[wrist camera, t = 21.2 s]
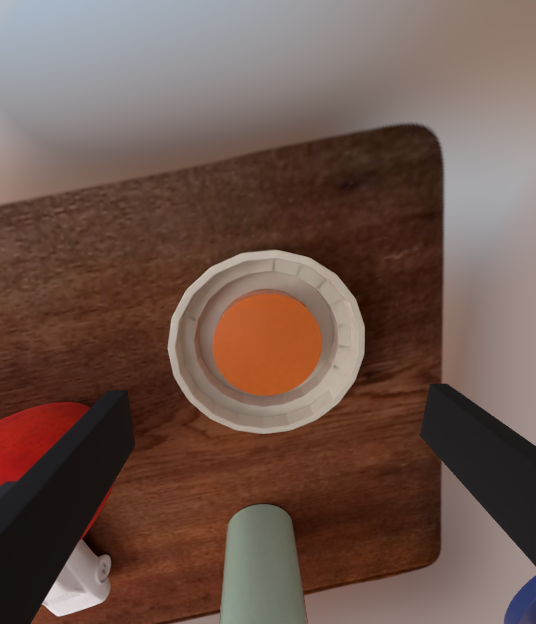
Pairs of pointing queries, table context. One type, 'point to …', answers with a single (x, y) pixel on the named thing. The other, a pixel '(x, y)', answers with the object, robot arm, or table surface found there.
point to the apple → (36, 438)
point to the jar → (262, 569)
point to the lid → (266, 342)
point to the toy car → (80, 582)
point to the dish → (205, 316)
